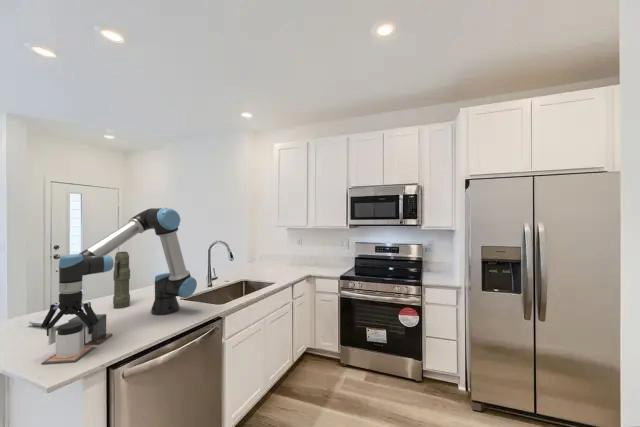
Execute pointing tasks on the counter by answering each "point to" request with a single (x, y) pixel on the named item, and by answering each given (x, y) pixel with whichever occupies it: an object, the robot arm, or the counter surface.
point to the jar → (69, 340)
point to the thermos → (121, 281)
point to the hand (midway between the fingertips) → (70, 342)
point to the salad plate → (60, 322)
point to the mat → (68, 360)
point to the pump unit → (95, 330)
